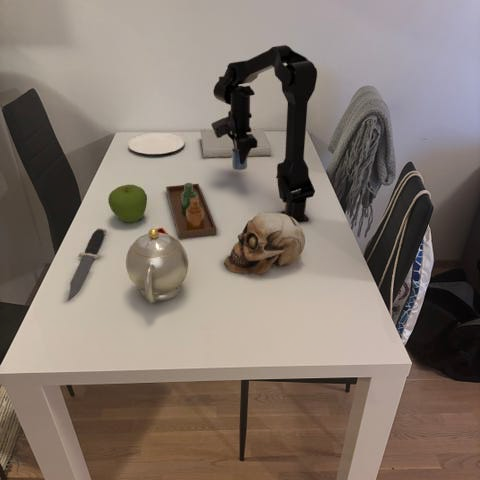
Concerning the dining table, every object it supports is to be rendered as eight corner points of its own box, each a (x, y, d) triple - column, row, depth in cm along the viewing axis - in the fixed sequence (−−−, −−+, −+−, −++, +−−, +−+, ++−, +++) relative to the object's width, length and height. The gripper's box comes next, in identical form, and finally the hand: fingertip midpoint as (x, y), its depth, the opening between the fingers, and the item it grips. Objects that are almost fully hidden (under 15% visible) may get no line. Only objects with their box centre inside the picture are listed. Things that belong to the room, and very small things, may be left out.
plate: (119, 154, 171) (118, 149, 170) (141, 134, 186) (141, 130, 185) (173, 160, 167) (173, 155, 166) (192, 139, 183) (192, 135, 182)
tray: (216, 234, 130) (216, 228, 128) (179, 239, 128) (178, 232, 127) (198, 189, 150) (198, 183, 149) (166, 192, 149) (165, 186, 147)
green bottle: (199, 215, 137) (198, 187, 131) (183, 217, 136) (181, 189, 130) (197, 207, 140) (195, 180, 135) (180, 209, 139) (178, 181, 134)
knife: (110, 233, 130) (91, 230, 129) (109, 228, 128) (91, 225, 128) (80, 305, 108) (57, 302, 108) (79, 299, 107) (57, 296, 106)
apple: (129, 207, 141) (124, 175, 135) (157, 216, 137) (153, 183, 131) (104, 222, 134) (97, 189, 128) (132, 232, 130) (127, 199, 124)
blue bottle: (248, 169, 150) (249, 142, 145) (234, 170, 149) (234, 143, 144) (245, 163, 154) (245, 136, 148) (230, 164, 153) (230, 138, 147)
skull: (218, 264, 118) (222, 215, 110) (260, 243, 130) (267, 196, 122) (268, 291, 111) (277, 240, 103) (307, 266, 123) (318, 218, 115)
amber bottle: (206, 231, 130) (204, 203, 124) (188, 233, 129) (186, 205, 123) (202, 223, 133) (201, 195, 128) (185, 225, 132) (183, 196, 127)
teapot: (138, 271, 116) (129, 211, 106) (194, 273, 116) (190, 213, 105) (120, 319, 103) (107, 255, 92) (183, 322, 102) (177, 258, 92)
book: (200, 130, 180) (263, 128, 183) (200, 140, 183) (262, 138, 185) (203, 148, 167) (270, 146, 169) (203, 159, 169) (270, 157, 171)
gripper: (207, 101, 145) (209, 151, 155) (219, 121, 132) (220, 175, 142) (242, 98, 147) (242, 148, 157) (258, 118, 134) (256, 171, 144)
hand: (239, 160), depth 150 cm, fingers closed on blue bottle, 5 cm apart
